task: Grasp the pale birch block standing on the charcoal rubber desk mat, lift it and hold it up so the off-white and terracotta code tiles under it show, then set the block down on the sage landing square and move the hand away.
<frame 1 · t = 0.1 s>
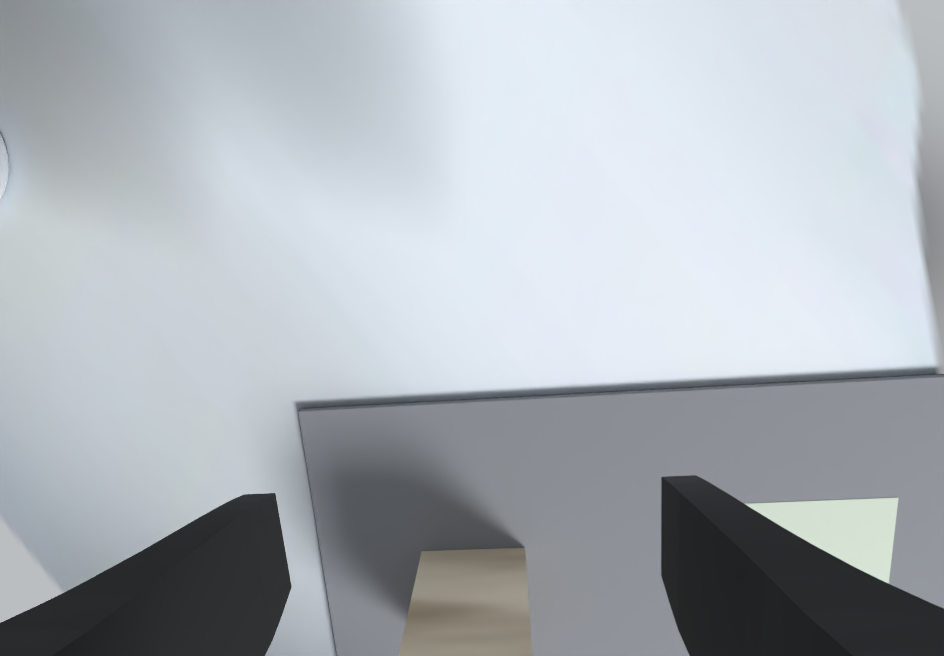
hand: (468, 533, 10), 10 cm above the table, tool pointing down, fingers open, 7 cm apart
birch block: (476, 593, 22), resting on code mat
code mat: (629, 583, 22), on the table
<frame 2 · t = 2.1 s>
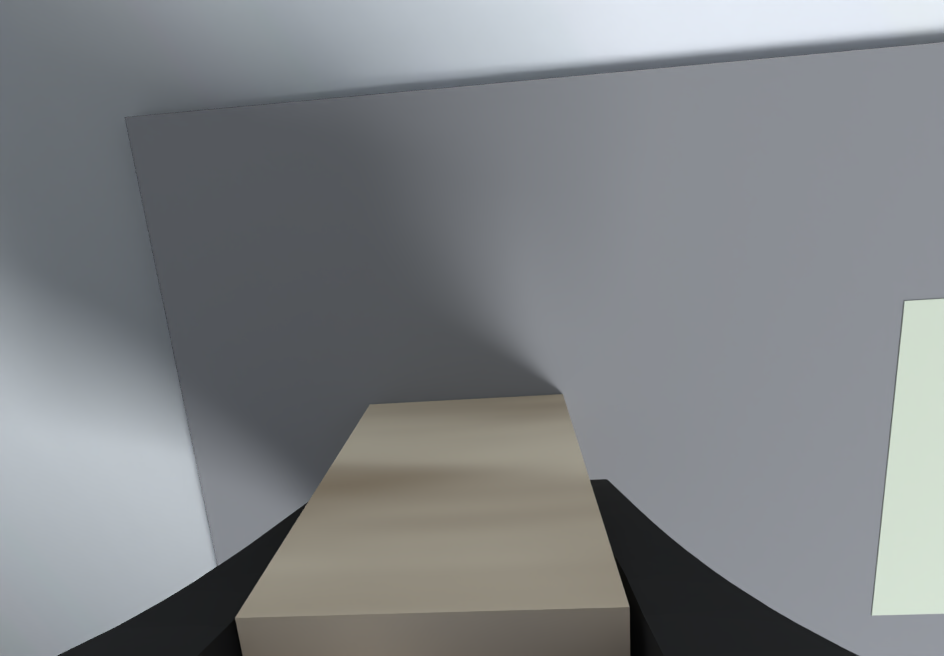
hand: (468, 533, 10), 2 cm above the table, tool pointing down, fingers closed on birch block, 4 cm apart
birch block: (472, 487, 12), resting on code mat, touching gripper
code mat: (754, 467, 12), on the table
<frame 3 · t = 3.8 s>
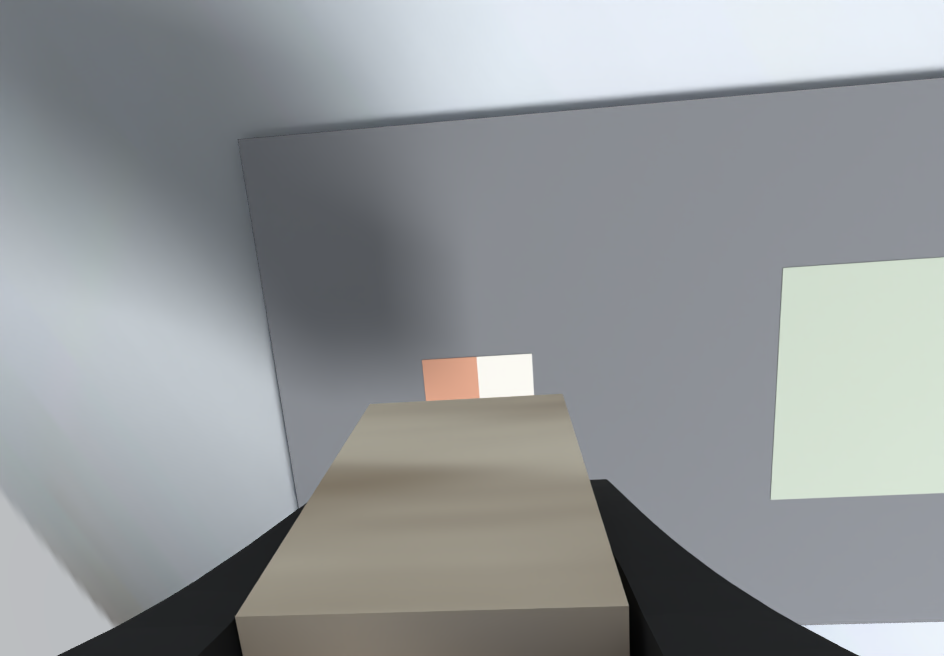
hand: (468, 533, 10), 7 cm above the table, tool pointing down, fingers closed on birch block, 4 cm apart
birch block: (472, 486, 12), point 5 cm above the table, touching gripper
code mat: (683, 390, 16), on the table
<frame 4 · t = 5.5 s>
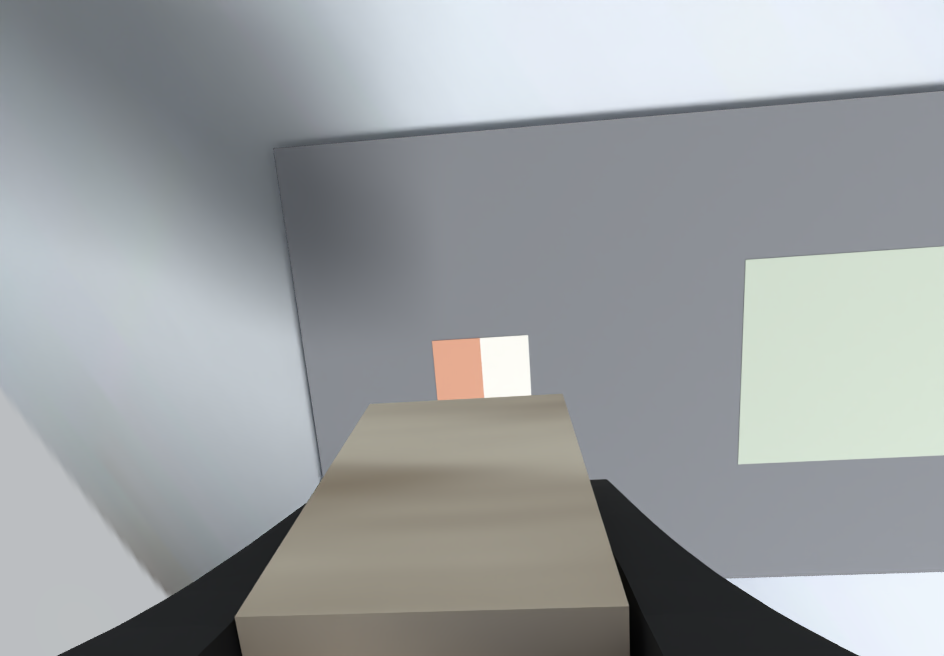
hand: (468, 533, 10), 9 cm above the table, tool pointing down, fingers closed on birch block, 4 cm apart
birch block: (472, 486, 12), point 7 cm above the table, touching gripper
code mat: (661, 368, 19), on the table
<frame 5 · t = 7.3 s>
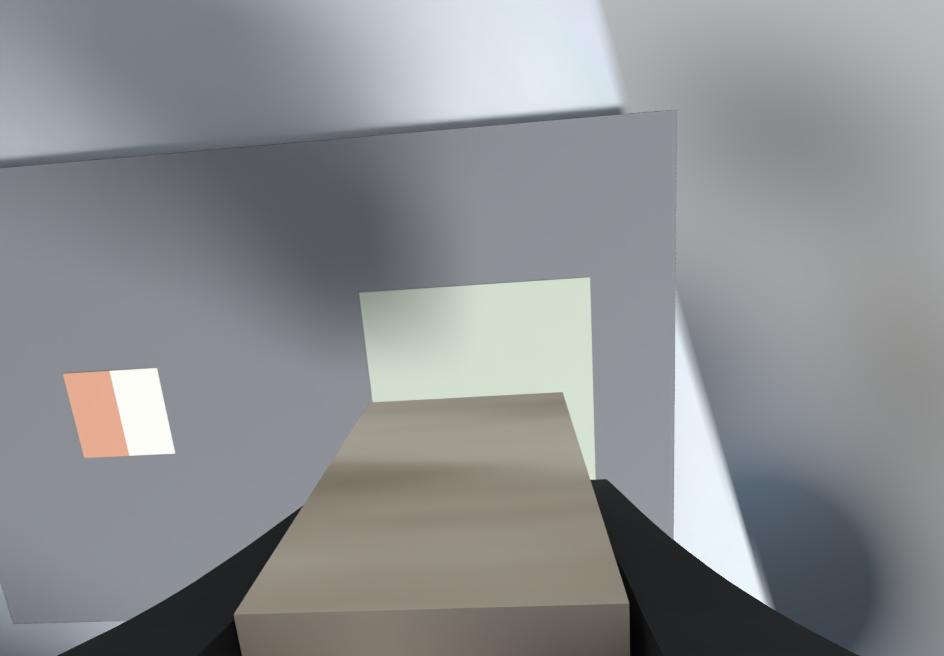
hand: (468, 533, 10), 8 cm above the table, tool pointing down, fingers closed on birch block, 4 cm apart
birch block: (472, 485, 12), point 6 cm above the table, touching gripper
code mat: (299, 401, 18), on the table
when the fingers open (3 cm above the table, at t = 9.0 s): birch block drops 1 cm, resting on code mat.
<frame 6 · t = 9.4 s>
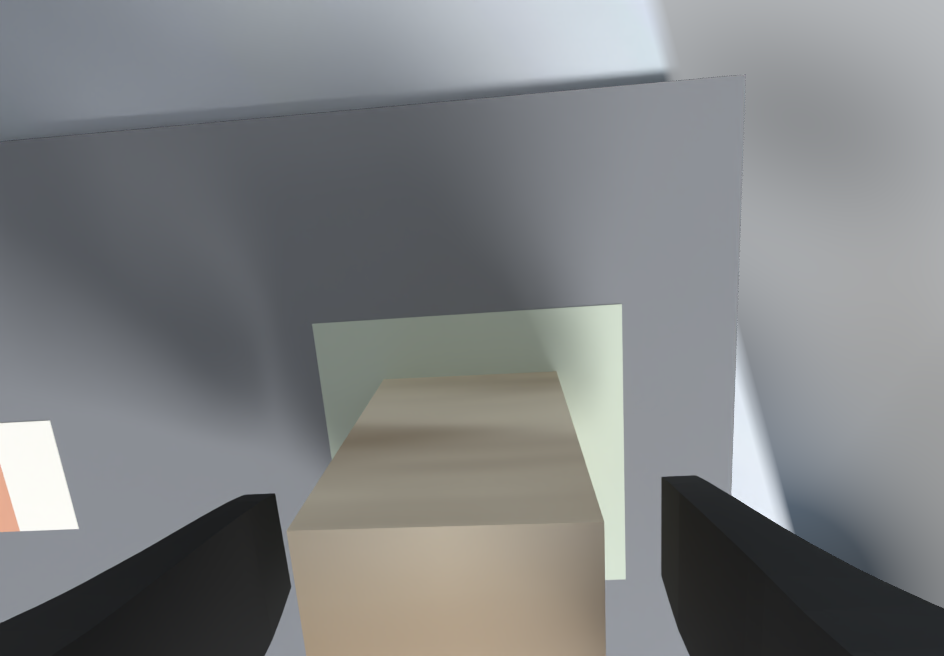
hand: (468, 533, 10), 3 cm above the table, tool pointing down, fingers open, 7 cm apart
birch block: (474, 454, 13), resting on code mat
code mat: (239, 462, 14), on the table
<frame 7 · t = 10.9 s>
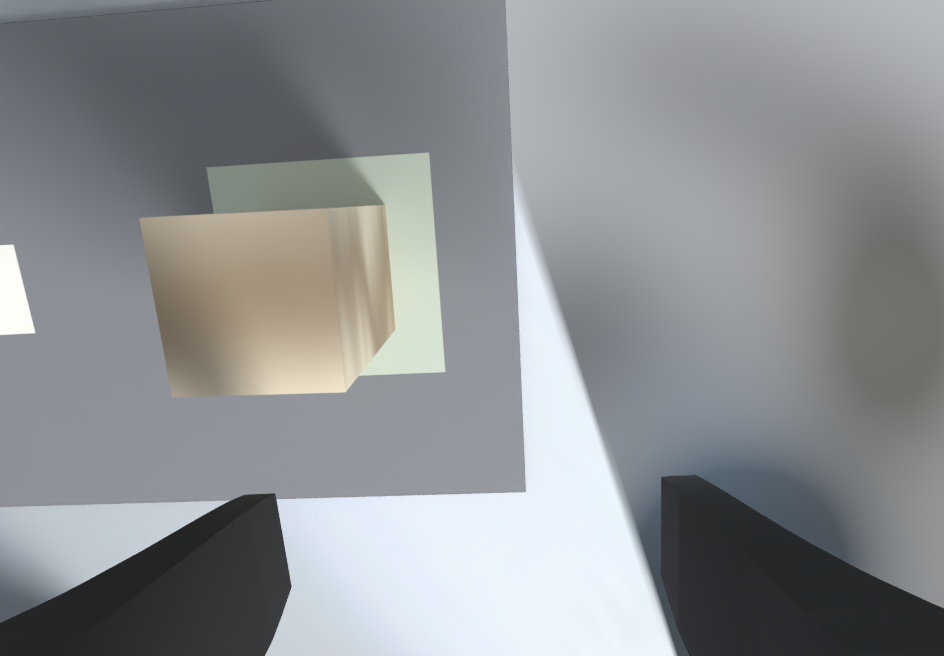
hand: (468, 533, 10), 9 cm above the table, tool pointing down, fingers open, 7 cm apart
birch block: (329, 271, 18), resting on code mat
code mat: (156, 281, 18), on the table
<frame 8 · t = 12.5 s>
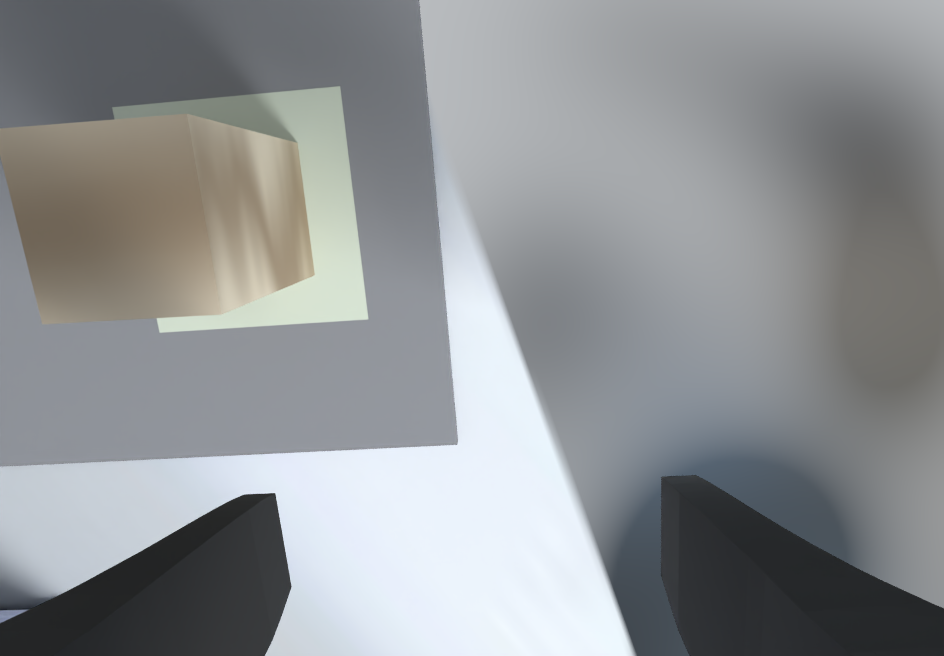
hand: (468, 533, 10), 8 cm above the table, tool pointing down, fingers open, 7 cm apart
birch block: (243, 215, 17), resting on code mat
code mat: (69, 230, 18), on the table
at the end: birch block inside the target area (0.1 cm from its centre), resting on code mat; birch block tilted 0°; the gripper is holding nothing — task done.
